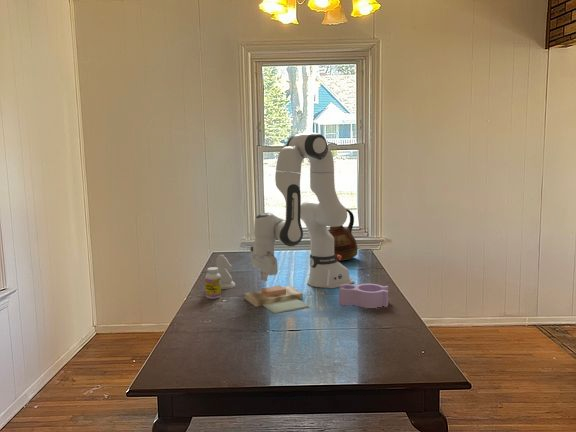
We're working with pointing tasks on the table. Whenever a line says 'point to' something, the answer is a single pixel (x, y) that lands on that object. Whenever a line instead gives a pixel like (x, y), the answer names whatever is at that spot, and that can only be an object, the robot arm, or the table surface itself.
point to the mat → (285, 305)
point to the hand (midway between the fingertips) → (264, 280)
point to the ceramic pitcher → (344, 240)
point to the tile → (273, 291)
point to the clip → (363, 295)
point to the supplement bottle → (213, 283)
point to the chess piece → (224, 272)
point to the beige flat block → (261, 299)
